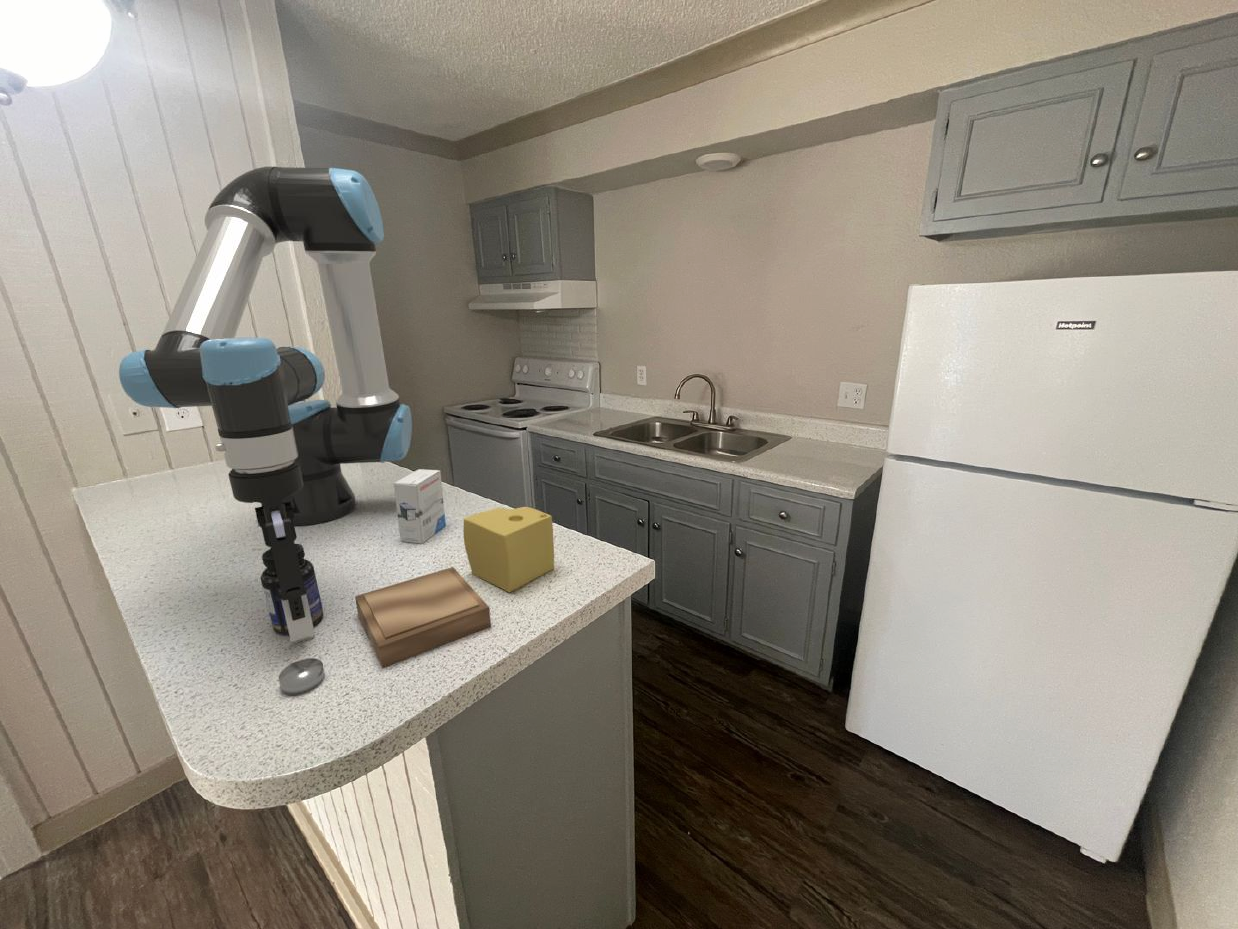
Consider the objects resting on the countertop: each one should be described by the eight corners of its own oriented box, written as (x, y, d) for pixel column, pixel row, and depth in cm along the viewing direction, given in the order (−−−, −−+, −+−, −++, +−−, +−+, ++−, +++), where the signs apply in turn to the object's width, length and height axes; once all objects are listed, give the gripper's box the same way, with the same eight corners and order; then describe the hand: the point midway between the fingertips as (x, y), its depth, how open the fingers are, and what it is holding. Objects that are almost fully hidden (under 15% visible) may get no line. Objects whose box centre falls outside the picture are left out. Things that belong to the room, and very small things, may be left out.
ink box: (425, 523, 104) (418, 468, 100) (448, 525, 103) (441, 469, 99) (399, 542, 96) (391, 482, 92) (424, 544, 95) (416, 484, 91)
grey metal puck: (280, 680, 61) (277, 668, 60) (322, 665, 63) (319, 653, 63) (283, 702, 57) (280, 689, 57) (328, 686, 60) (325, 673, 59)
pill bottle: (332, 609, 75) (318, 540, 71) (309, 635, 69) (293, 561, 66) (289, 610, 74) (273, 541, 71) (262, 636, 69) (244, 562, 65)
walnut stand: (358, 614, 73) (354, 594, 72) (454, 583, 81) (452, 565, 80) (382, 667, 63) (378, 644, 62) (490, 626, 71) (489, 605, 70)
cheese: (516, 551, 92) (512, 499, 89) (558, 570, 85) (556, 514, 82) (466, 574, 84) (460, 518, 81) (509, 596, 78) (504, 536, 75)
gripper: (226, 450, 71) (260, 593, 78) (228, 495, 54) (272, 673, 61) (289, 442, 75) (317, 578, 82) (310, 481, 58) (342, 649, 65)
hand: (298, 618), depth 71 cm, fingers open, 9 cm apart
